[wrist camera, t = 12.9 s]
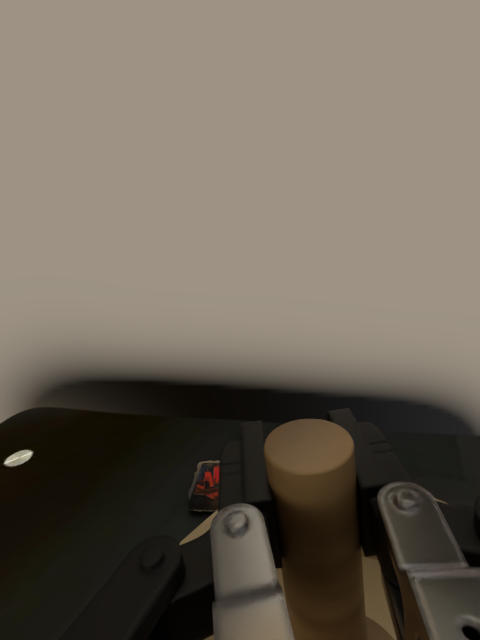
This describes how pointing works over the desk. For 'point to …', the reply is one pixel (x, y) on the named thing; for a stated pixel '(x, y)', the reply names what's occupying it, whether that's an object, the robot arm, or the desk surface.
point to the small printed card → (205, 487)
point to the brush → (319, 530)
